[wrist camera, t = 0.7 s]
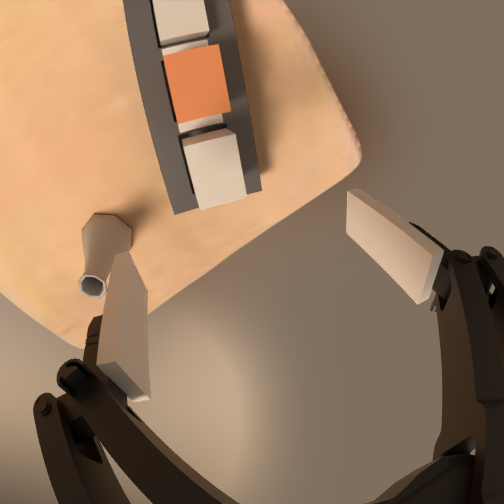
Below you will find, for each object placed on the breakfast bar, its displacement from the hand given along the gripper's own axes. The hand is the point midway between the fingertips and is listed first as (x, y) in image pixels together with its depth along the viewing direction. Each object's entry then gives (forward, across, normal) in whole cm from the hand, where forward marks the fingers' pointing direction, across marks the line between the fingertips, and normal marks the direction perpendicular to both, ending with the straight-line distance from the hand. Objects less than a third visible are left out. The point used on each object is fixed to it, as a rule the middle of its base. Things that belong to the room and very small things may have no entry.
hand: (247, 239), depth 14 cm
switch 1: (+18, 0, +16) cm, 24 cm away
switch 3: (+15, 0, 0) cm, 15 cm away
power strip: (+20, 0, +11) cm, 23 cm away
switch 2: (+15, 0, +8) cm, 17 cm away
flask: (+21, -15, -7) cm, 26 cm away
